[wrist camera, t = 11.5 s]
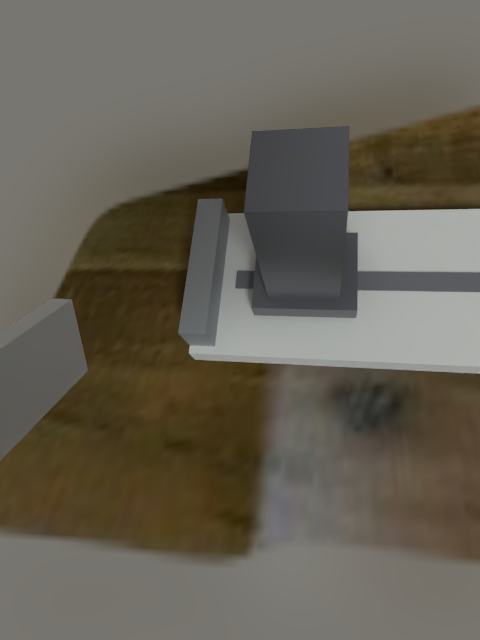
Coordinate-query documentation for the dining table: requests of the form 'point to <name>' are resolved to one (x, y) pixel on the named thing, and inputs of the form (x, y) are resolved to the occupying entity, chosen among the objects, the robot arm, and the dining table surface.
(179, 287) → the dining table surface
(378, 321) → the fader base
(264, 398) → the dining table surface
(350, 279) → the fader knob
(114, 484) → the dining table surface
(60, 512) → the dining table surface
